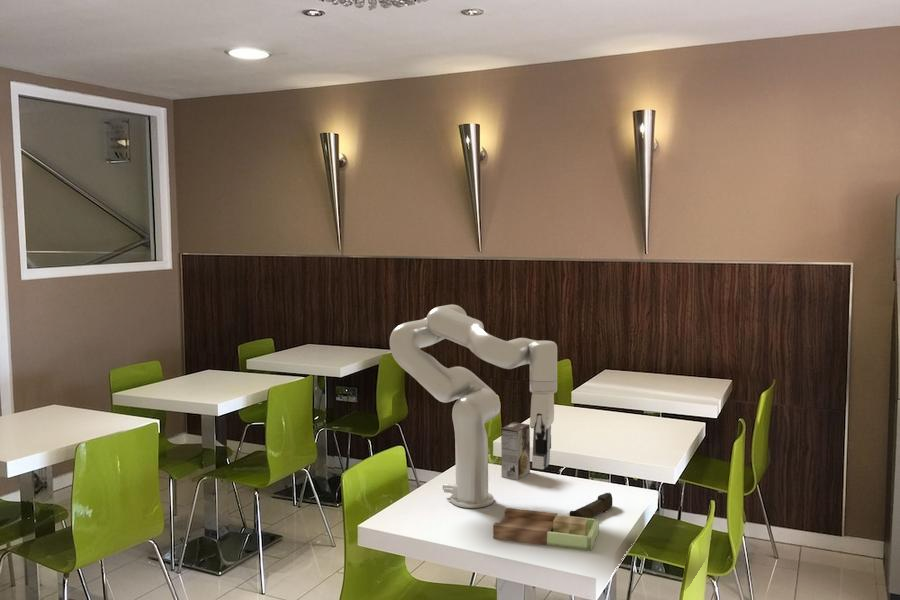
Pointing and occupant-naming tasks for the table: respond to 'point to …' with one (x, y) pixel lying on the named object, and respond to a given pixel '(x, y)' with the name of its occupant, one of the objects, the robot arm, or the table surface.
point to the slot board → (524, 526)
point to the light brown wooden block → (578, 526)
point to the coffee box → (515, 450)
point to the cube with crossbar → (541, 459)
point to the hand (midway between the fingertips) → (543, 450)
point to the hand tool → (594, 507)
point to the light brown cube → (561, 524)
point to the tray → (575, 536)
